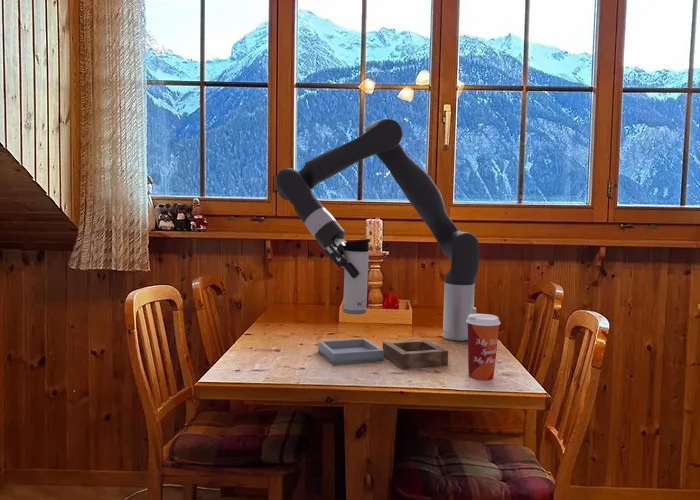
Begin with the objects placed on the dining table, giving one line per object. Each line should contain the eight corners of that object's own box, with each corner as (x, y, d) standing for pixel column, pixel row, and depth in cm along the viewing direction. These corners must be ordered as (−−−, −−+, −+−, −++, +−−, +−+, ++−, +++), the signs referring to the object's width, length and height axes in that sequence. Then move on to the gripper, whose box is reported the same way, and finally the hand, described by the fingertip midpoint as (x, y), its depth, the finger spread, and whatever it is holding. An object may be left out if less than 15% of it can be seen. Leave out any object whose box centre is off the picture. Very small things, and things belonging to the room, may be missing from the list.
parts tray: (364, 348, 171) (365, 338, 171) (383, 361, 158) (384, 350, 158) (318, 351, 167) (318, 341, 167) (333, 365, 154) (333, 353, 153)
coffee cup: (478, 383, 141) (481, 321, 140) (457, 374, 148) (459, 314, 147) (505, 379, 145) (508, 318, 143) (483, 370, 152) (485, 312, 151)
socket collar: (425, 353, 167) (425, 339, 167) (447, 366, 155) (448, 350, 155) (382, 356, 163) (382, 342, 163) (402, 369, 151) (402, 354, 150)
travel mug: (365, 315, 157) (368, 239, 156) (340, 313, 159) (343, 238, 157) (369, 311, 163) (372, 238, 162) (345, 309, 165) (348, 237, 163)
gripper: (321, 219, 156) (360, 268, 152) (345, 218, 168) (382, 263, 165) (302, 238, 158) (341, 287, 154) (327, 236, 171) (363, 281, 167)
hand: (362, 274), depth 159 cm, fingers closed on travel mug, 6 cm apart
